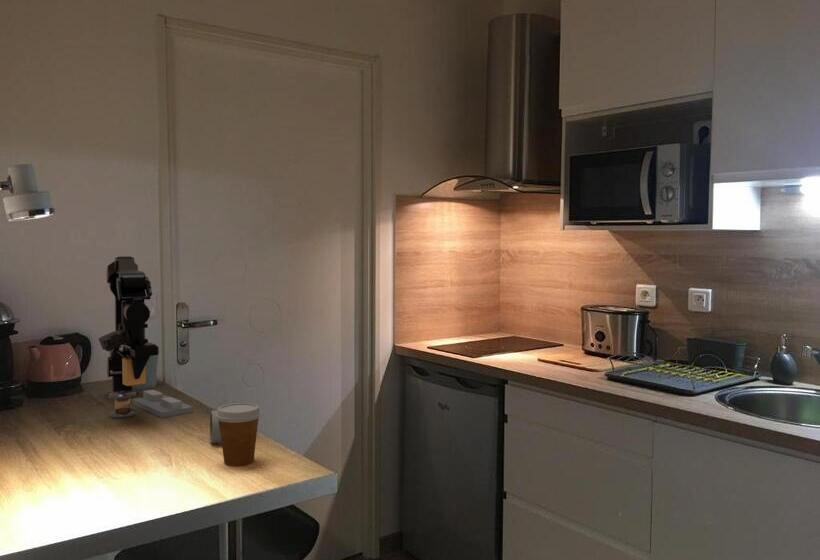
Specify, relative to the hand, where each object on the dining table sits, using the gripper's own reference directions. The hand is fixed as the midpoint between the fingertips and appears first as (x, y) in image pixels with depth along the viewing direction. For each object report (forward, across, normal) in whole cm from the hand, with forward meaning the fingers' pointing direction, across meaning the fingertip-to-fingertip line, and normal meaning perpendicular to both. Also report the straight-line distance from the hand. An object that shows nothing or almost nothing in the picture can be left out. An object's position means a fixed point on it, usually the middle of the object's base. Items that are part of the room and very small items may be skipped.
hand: (134, 377), depth 188 cm
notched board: (+11, -6, +10) cm, 16 cm away
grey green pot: (+12, -37, +17) cm, 42 cm away
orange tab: (+2, 0, 0) cm, 2 cm away
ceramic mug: (+11, +34, +9) cm, 37 cm away
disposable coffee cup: (+10, +50, +3) cm, 52 cm away
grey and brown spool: (+11, -6, -1) cm, 12 cm away
